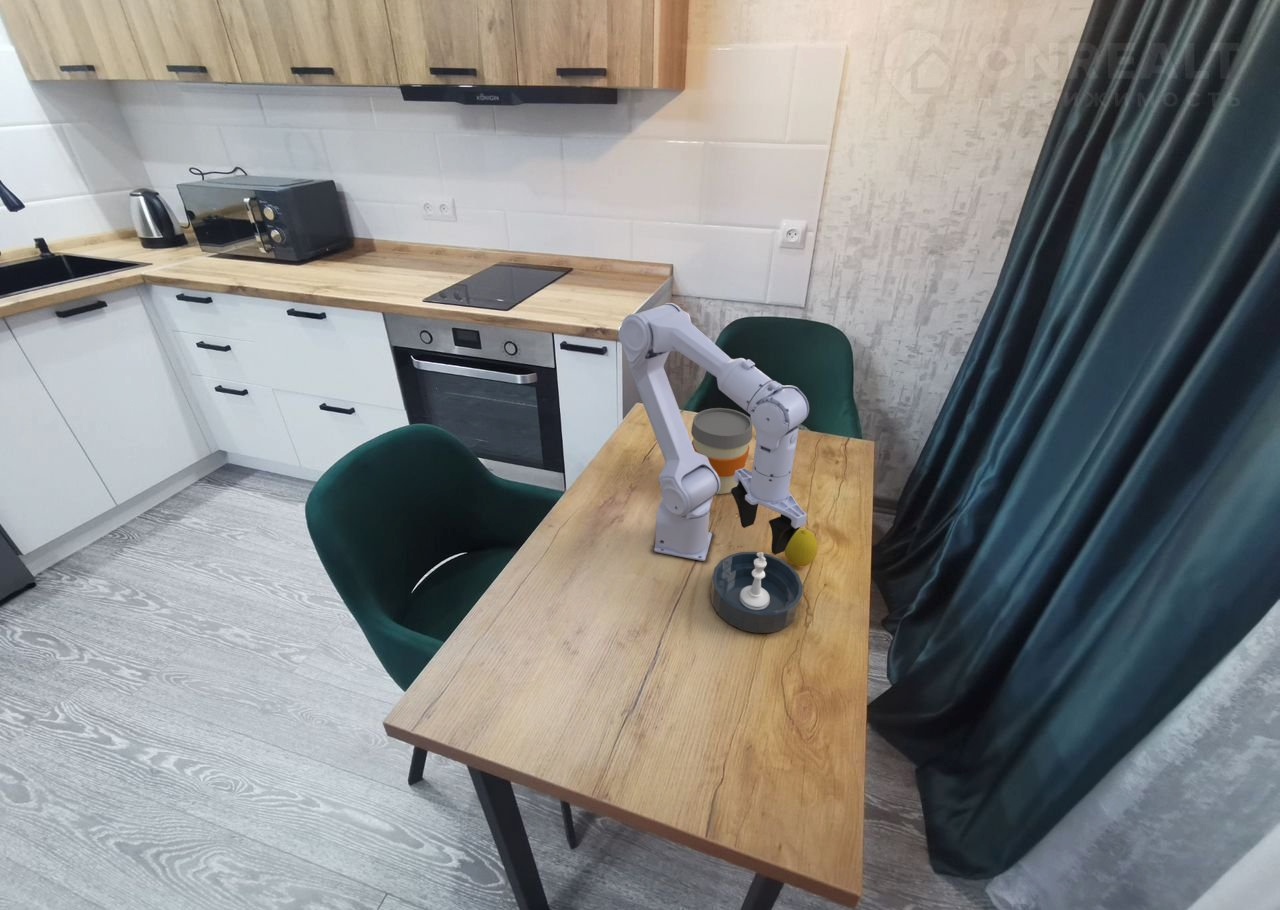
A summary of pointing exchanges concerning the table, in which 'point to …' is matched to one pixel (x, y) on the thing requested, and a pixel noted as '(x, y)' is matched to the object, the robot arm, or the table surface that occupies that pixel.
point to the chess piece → (756, 587)
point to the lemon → (801, 548)
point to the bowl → (776, 582)
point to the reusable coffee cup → (723, 442)
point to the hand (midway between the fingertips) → (762, 538)
